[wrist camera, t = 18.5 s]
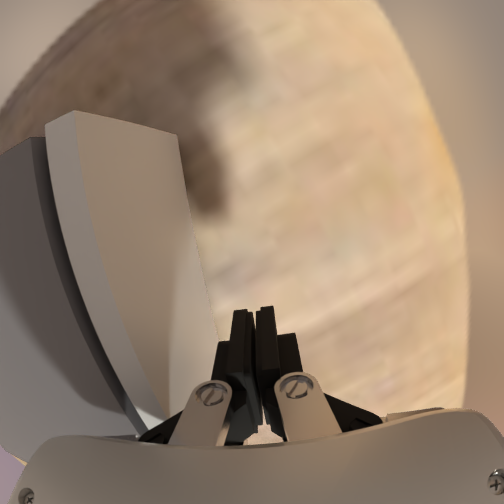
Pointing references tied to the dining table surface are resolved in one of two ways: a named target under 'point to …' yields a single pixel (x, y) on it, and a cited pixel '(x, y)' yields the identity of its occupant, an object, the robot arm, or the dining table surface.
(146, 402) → the tray
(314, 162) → the dining table surface
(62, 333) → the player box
